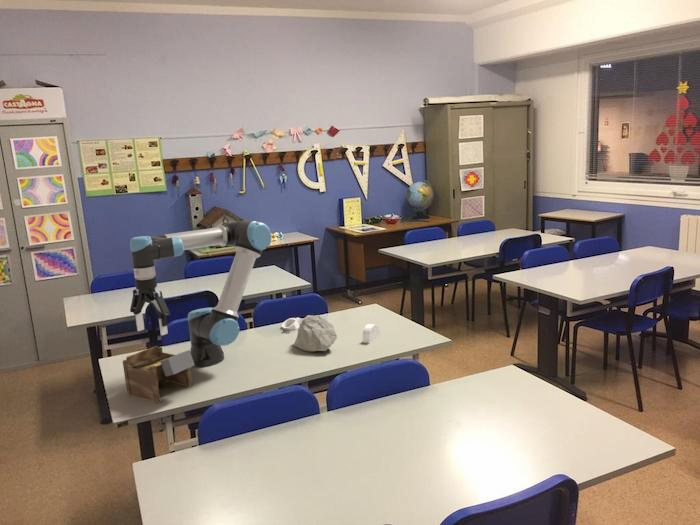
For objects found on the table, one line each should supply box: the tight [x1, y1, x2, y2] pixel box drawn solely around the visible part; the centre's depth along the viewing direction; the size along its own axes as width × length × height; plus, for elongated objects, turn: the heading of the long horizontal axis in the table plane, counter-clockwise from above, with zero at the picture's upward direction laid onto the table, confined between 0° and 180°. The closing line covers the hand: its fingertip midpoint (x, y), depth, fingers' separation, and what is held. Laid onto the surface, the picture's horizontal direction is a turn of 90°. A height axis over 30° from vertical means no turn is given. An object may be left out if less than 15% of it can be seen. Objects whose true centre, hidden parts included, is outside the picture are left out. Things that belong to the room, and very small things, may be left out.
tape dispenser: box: [361, 323, 381, 344], centre depth 264 cm, size 10×18×11 cm, turn 57°
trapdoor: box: [143, 349, 195, 376], centre depth 217 cm, size 13×21×6 cm, turn 57°
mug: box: [281, 317, 304, 331], centre depth 289 cm, size 12×9×10 cm
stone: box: [133, 356, 167, 367], centre depth 218 cm, size 13×5×2 cm, turn 134°
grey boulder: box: [293, 314, 337, 352], centre depth 256 cm, size 22×13×15 cm, turn 53°
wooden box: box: [122, 345, 193, 404], centre depth 221 cm, size 17×17×15 cm
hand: (152, 332), depth 218 cm, fingers open, 13 cm apart
